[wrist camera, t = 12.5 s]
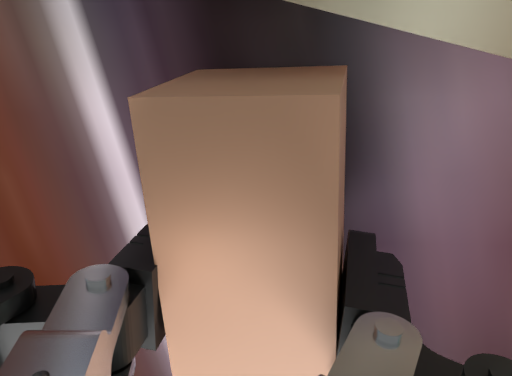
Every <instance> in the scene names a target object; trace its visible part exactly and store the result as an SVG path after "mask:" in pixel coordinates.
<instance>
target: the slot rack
mask: <svg viewBox="0 0 512 376" xmlns="http://www.w3.org/2000/svg"><path fill="white" fill-rule="evenodd" d="M284 1H288V2H292V3H296V4H300V5H304V6H308V7H312V8H315V9H319V10H323V11H327V12H331V13H335V14H339V15H343V16H347V17H351V18H355V19H358V20H362V21H366V22H370V23H374V24H378V25H382V26H386V27H390V28H394V29H398V30H401V31H405V32H409V33H413V34H417V35H421V36H425V37H429V38H433V39H437V40H440V41H444V42H448V43H452V44H456V45H460V46H464V47H468V48H472V49H476V50H480V51H483V52H487V53H491V54H495V55H499V56H503V57H507V58H511V59H512V0H284Z"/></svg>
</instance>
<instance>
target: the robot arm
mask: <svg viewBox="0 0 512 376" xmlns="http://www.w3.org/2000/svg"><path fill="white" fill-rule="evenodd" d="M405 287H406V286H405V280H404V273H403V266H402V264H401V263H400V262H399V261H398V259H397V258H396V257H395V256H394V255H393V254H390V253H384V252H377V251H376V235H375V234H374V233H368V232H361V231H354V230H349V232H348V238H347V245H346V251H345V258H344V265H343V271H342V282H341V296H340V310H339V323H338V337H337V350H336V360H335V362H334V364H333V366H332V368H331V369H330V371H329V373H328V375H327V376H512V360H510V359H508V358H505V357H502V356H498V355H493V354H477V355H473V356H471V357H470V358H468V359H467V360H466V362H465V364H464V365H462V364H459V363H457V362H454V361H452V360H450V359H447V358H445V357H443V356H440V355H438V354H437V353H435V352H433V351H431V350H430V349H429V348H427V347H426V346H425V345H424V344H422V337H421V334H420V333H419V331H418V330H417V329H416V327H415V326H414V325H412V324H411V319H410V312H409V306H408V299H407V293H406V289H405ZM165 334H166V333H165V327H164V321H163V314H162V308H161V302H160V296H159V289H158V271H157V265H154V258H153V252H152V246H151V240H150V233H149V227H148V224H147V225H145V226H144V228H143V229H142V230H141V231H140V232H139V233H138V234H137V236H135V237H134V238H133V239H132V240H131V241H130V243H128V244H127V245H126V246H125V247H124V248H123V249H122V250H121V251H120V252H119V253H118V254H117V255H116V256H115V257H114V258H113V259H112V260H111V262H110V263H109V264H99V265H93V266H89V267H86V268H83V269H81V270H79V271H77V272H76V273H75V274H73V275H72V276H71V277H70V278H69V280H68V282H67V283H66V285H49V286H35V280H34V275H33V273H32V272H31V271H30V270H29V269H27V268H24V267H19V266H7V267H0V376H134V371H135V355H136V354H137V352H138V351H139V349H140V348H145V349H150V350H155V351H156V350H157V348H158V346H159V344H160V343H161V341H162V339H163V338H164V336H165ZM319 376H325V375H323V374H320V375H319Z"/></svg>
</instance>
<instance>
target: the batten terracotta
mask: <svg viewBox="0 0 512 376" xmlns="http://www.w3.org/2000/svg"><path fill="white" fill-rule="evenodd" d="M346 98H347V65H342V66H307V67H272V68H237V69H202V70H195V71H193V72H190V73H188V74H185V75H183V76H180V77H178V78H175V79H173V80H170V81H168V82H165V83H163V84H160V85H158V86H156V87H153V88H151V89H148V90H146V91H143V92H141V93H138V94H136V95H133V96H131V97H128V102H129V109H130V115H131V121H132V127H133V134H134V140H135V146H136V152H137V158H138V165H139V171H140V177H141V183H142V190H143V196H144V202H145V208H146V215H147V221H148V227H149V233H150V240H151V246H152V252H153V258H154V265H157V271H158V289H159V296H160V302H161V308H162V314H163V321H164V327H165V333H166V339H167V346H168V352H169V358H170V364H171V371H172V376H319V375H320V374H323V375H325V376H327V375H328V373H329V371H330V369H331V368H332V366H333V364H334V362H335V360H336V350H337V337H338V323H339V310H340V296H341V282H342V271H343V237H344V191H345V144H346Z"/></svg>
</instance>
